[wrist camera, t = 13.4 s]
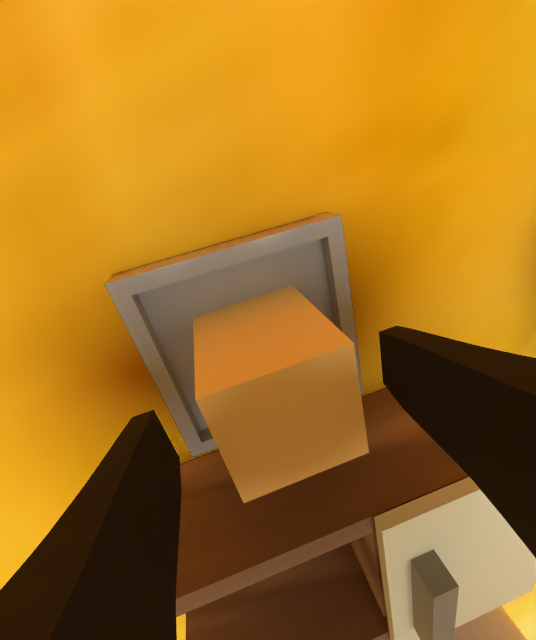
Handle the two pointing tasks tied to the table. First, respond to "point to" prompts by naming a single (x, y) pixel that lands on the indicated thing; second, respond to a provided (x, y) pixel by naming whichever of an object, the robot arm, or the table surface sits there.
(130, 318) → the slate tray
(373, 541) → the brown cabinet
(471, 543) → the cream cabinet door
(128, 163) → the table surface
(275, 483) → the mustard block
